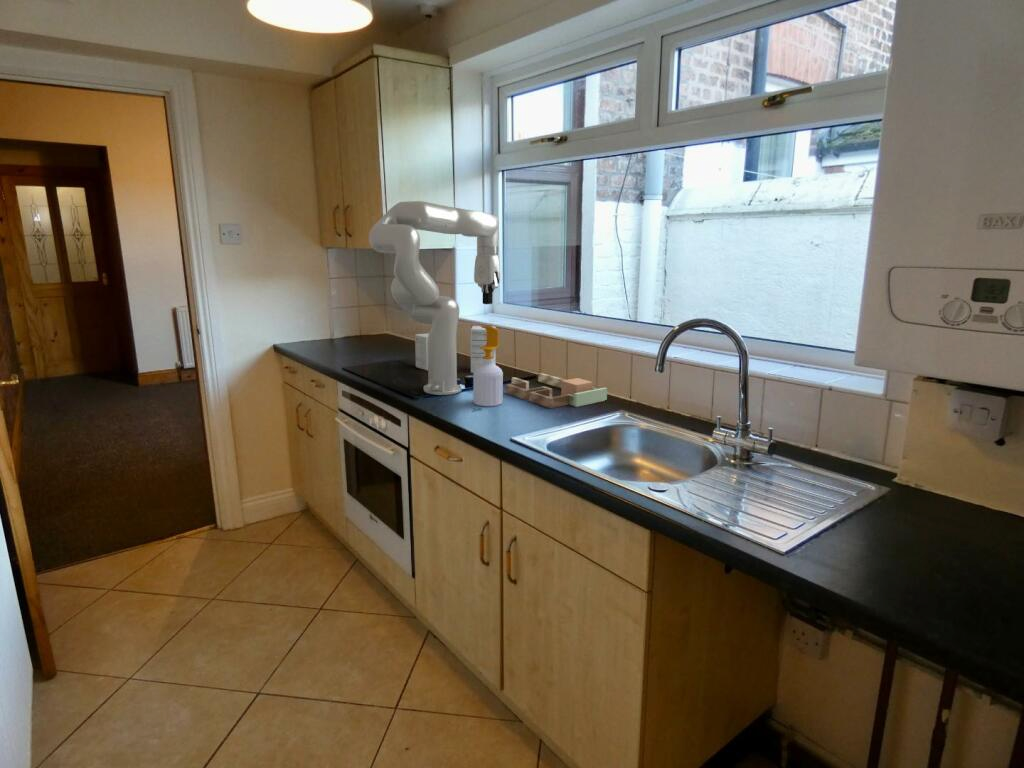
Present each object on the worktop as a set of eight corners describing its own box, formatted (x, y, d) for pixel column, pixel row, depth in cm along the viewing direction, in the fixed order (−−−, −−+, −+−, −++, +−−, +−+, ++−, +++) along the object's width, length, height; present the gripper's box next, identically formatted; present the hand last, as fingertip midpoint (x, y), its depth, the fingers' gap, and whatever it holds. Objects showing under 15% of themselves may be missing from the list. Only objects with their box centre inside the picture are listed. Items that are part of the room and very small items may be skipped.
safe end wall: (573, 406, 194) (574, 393, 193) (603, 399, 202) (604, 387, 201) (576, 406, 193) (576, 394, 192) (606, 400, 201) (607, 388, 200)
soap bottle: (468, 404, 195) (467, 325, 189) (483, 397, 202) (483, 322, 197) (493, 408, 191) (493, 328, 185) (507, 401, 198) (508, 324, 193)
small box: (440, 368, 245) (439, 335, 241) (426, 370, 241) (425, 337, 238) (429, 365, 251) (428, 332, 248) (415, 367, 247) (414, 334, 244)
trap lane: (493, 389, 214) (494, 380, 213) (540, 380, 226) (541, 372, 226) (555, 410, 190) (555, 400, 189) (603, 399, 202) (604, 390, 202)
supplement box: (494, 373, 237) (494, 329, 233) (470, 373, 237) (470, 329, 233) (495, 368, 246) (496, 325, 242) (472, 368, 246) (472, 325, 242)
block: (561, 398, 203) (561, 380, 202) (576, 395, 207) (577, 378, 206) (576, 403, 198) (576, 385, 196) (591, 400, 202) (592, 382, 200)
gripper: (466, 250, 223) (467, 302, 227) (491, 252, 212) (491, 306, 216) (484, 250, 228) (483, 301, 232) (509, 252, 216) (508, 305, 221)
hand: (487, 303), depth 224 cm, fingers closed
